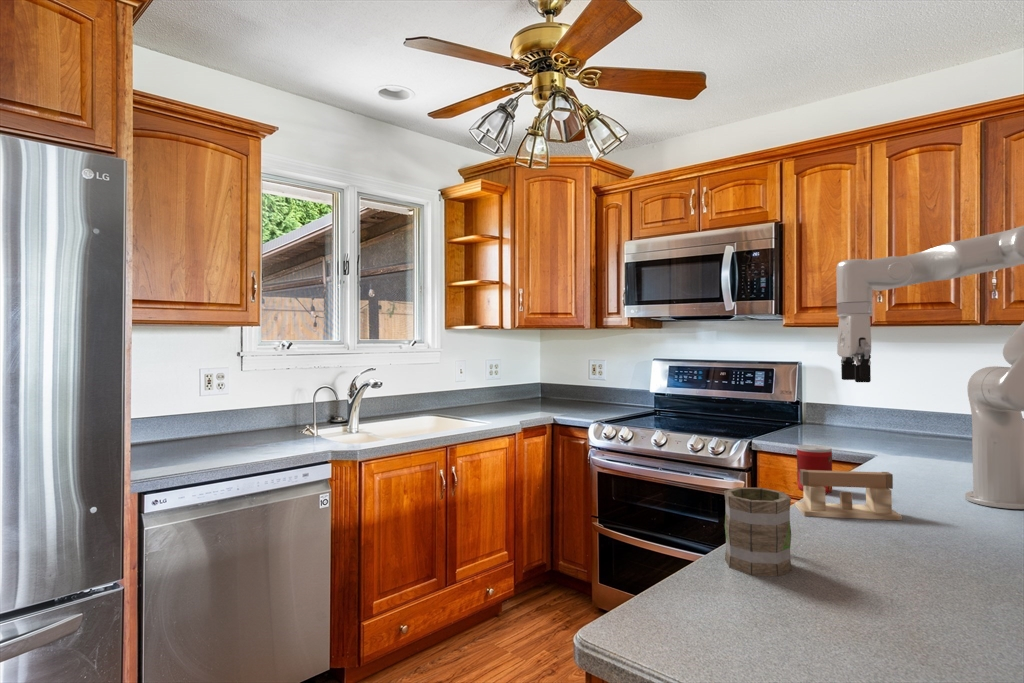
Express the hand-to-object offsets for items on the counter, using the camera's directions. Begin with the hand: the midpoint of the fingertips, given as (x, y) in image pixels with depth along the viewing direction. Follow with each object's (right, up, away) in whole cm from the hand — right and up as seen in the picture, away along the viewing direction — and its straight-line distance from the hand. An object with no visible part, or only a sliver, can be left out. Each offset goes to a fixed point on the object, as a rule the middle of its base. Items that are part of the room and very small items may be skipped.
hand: (855, 380), depth 147 cm
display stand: (-10, -28, -13) cm, 33 cm away
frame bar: (-10, -22, -13) cm, 28 cm away
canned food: (-6, -29, +7) cm, 30 cm away
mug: (-40, -29, -41) cm, 65 cm away
